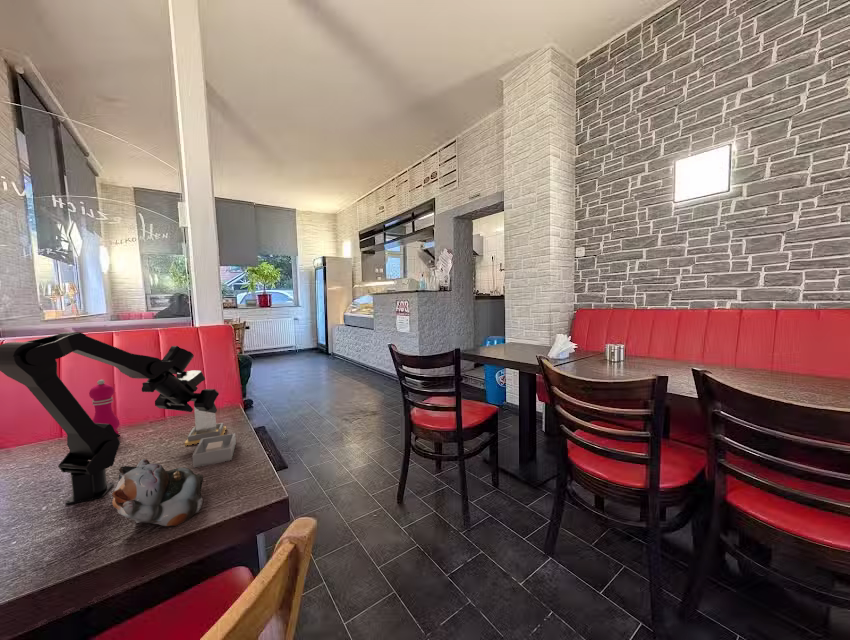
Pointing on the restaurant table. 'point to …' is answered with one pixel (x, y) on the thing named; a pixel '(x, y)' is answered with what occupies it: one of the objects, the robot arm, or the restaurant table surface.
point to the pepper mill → (103, 404)
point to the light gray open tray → (214, 450)
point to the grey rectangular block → (204, 421)
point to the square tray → (204, 434)
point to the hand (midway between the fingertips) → (203, 411)
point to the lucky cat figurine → (157, 494)
